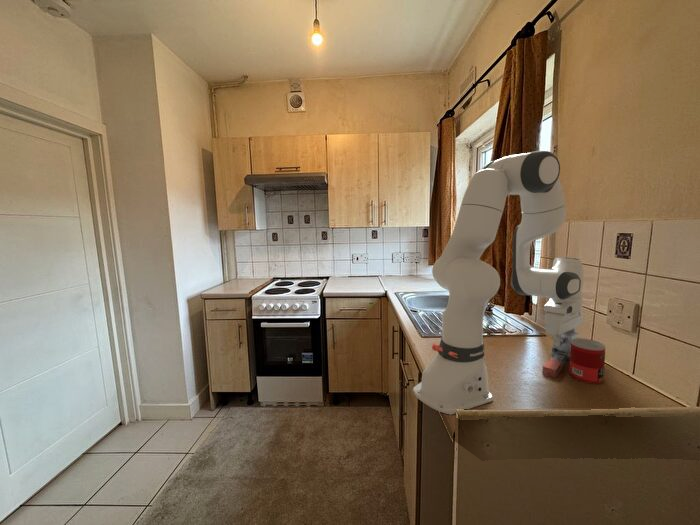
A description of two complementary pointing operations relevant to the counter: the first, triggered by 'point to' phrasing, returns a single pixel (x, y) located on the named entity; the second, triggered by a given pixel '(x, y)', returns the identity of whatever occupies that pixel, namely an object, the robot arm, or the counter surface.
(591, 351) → the canned food
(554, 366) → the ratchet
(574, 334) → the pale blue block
